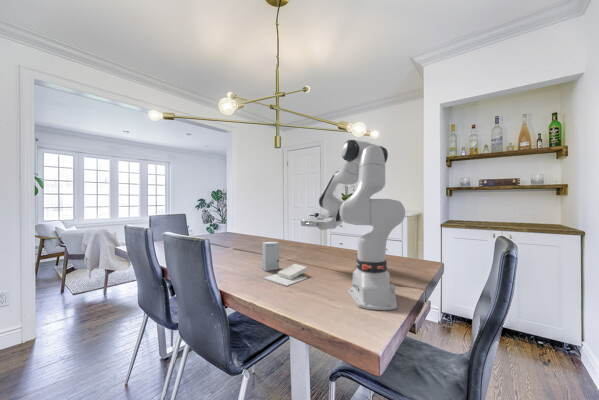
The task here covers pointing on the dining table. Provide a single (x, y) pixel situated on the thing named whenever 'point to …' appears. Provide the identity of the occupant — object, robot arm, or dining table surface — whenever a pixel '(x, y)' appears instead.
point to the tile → (292, 271)
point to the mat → (284, 279)
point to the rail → (304, 275)
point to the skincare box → (270, 256)
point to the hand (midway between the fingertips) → (308, 225)
